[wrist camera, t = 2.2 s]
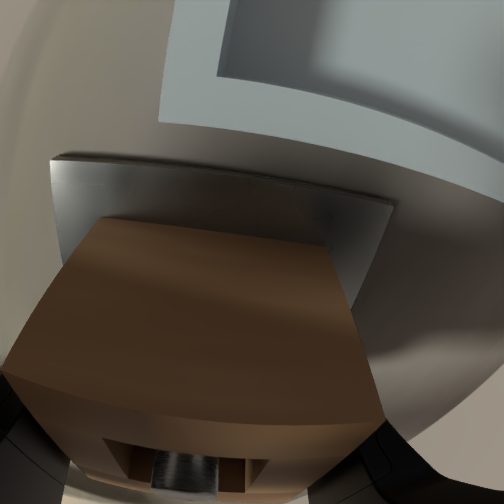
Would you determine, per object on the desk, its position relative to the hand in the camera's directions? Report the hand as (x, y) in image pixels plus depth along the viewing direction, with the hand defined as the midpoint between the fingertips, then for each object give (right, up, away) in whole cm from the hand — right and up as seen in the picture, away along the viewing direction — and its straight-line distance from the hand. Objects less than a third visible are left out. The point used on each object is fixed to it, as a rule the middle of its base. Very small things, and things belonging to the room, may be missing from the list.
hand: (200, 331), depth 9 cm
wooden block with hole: (0, -1, +1) cm, 1 cm away
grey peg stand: (0, +1, +1) cm, 1 cm away
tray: (+7, +10, -5) cm, 13 cm away
